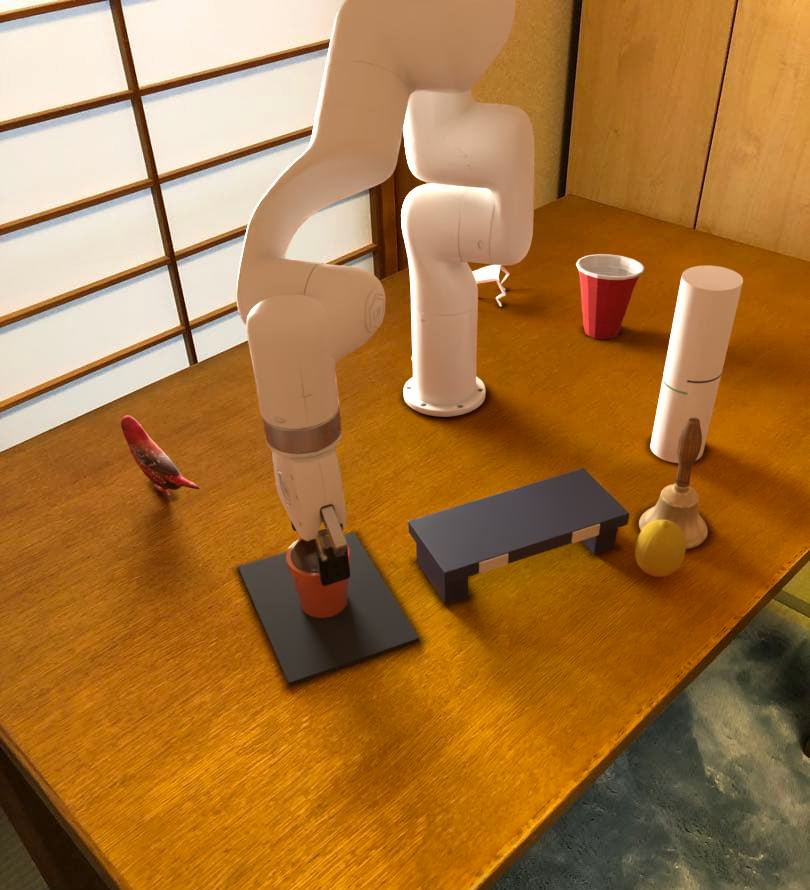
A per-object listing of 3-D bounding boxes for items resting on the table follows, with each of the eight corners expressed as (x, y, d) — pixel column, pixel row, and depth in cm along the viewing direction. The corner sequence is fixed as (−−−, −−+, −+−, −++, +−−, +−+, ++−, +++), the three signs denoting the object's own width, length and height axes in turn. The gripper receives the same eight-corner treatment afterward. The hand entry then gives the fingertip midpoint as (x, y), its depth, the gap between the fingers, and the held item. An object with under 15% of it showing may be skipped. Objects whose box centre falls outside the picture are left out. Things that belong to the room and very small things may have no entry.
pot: (285, 590, 102) (277, 543, 97) (341, 573, 104) (336, 525, 99) (304, 630, 97) (297, 582, 92) (363, 611, 99) (359, 563, 94)
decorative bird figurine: (144, 466, 123) (127, 405, 116) (217, 521, 113) (203, 458, 107) (126, 475, 122) (107, 414, 115) (198, 532, 112) (183, 468, 105)
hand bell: (668, 558, 105) (693, 448, 95) (625, 520, 111) (643, 412, 100) (721, 536, 108) (751, 427, 98) (676, 500, 114) (699, 393, 103)
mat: (238, 570, 106) (237, 566, 106) (354, 535, 110) (353, 531, 110) (289, 686, 92) (288, 683, 92) (419, 641, 96) (419, 638, 96)
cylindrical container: (704, 465, 119) (745, 292, 103) (650, 460, 120) (682, 288, 104) (701, 436, 124) (740, 267, 108) (650, 432, 126) (680, 264, 109)
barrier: (409, 558, 107) (407, 520, 103) (578, 505, 113) (583, 467, 110) (445, 612, 99) (445, 574, 96) (624, 552, 106) (631, 513, 102)
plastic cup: (644, 325, 150) (654, 257, 142) (619, 351, 143) (629, 282, 136) (585, 311, 155) (592, 244, 147) (559, 336, 148) (565, 268, 140)
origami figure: (499, 315, 155) (500, 289, 151) (455, 307, 157) (455, 281, 154) (522, 288, 163) (524, 262, 159) (480, 281, 166) (481, 255, 162)
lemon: (669, 596, 100) (682, 544, 95) (623, 580, 103) (633, 527, 97) (685, 568, 104) (698, 516, 99) (640, 553, 106) (650, 501, 101)
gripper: (240, 390, 90) (265, 516, 102) (293, 483, 78) (314, 615, 90) (309, 372, 92) (326, 498, 104) (371, 461, 80) (381, 592, 92)
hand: (320, 552), depth 97 cm, fingers open, 9 cm apart
